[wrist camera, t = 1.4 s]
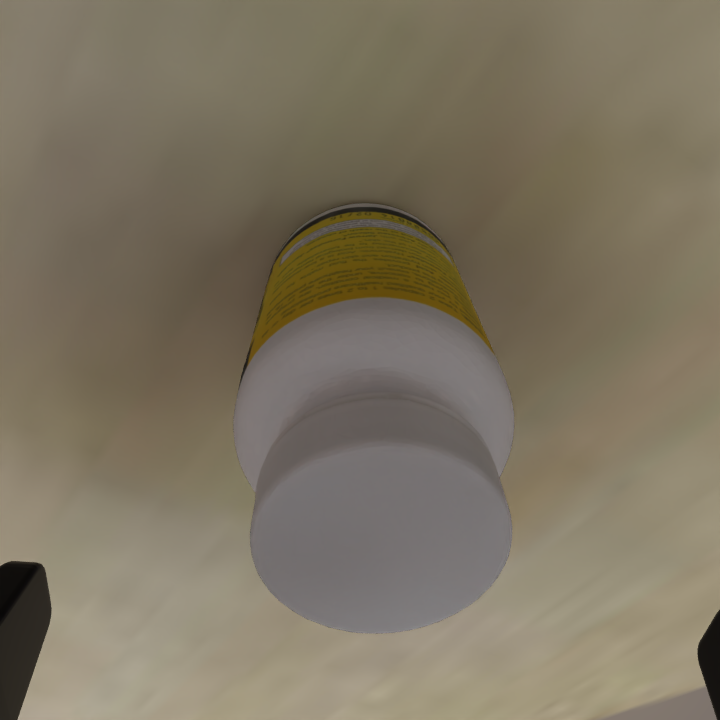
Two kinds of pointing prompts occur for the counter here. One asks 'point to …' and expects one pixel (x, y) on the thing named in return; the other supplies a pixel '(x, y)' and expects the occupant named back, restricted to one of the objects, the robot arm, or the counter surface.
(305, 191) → the counter surface
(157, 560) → the counter surface
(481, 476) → the supplement bottle
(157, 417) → the counter surface
